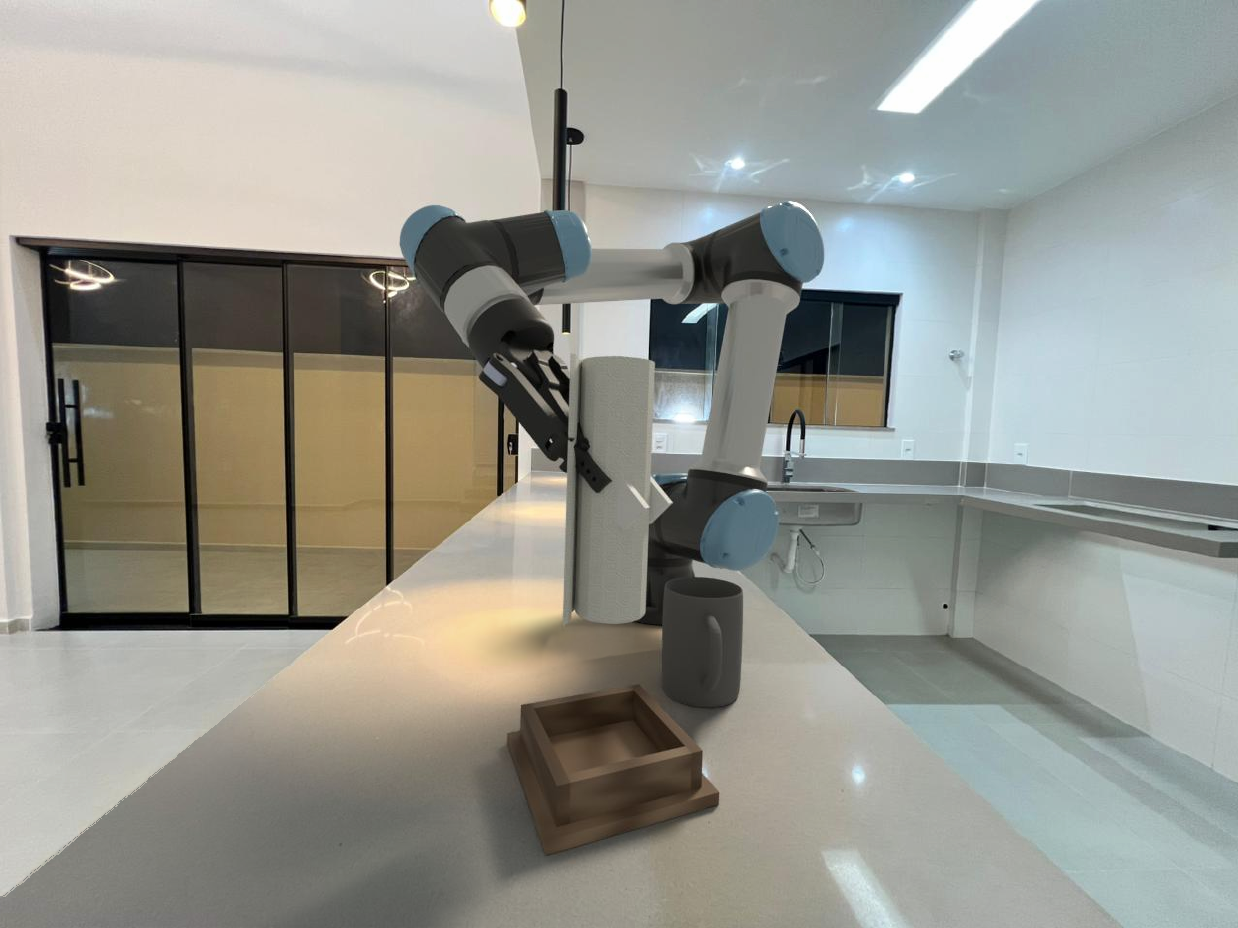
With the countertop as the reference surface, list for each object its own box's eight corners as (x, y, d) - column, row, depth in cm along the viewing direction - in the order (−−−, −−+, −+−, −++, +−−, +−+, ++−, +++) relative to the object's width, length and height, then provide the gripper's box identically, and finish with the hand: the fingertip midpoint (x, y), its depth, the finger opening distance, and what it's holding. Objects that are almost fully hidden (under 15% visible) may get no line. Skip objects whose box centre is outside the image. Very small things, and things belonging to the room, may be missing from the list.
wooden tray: (642, 715, 54) (643, 678, 54) (718, 804, 41) (720, 754, 41) (507, 743, 48) (507, 701, 48) (545, 855, 35) (546, 798, 35)
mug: (657, 670, 65) (660, 575, 64) (730, 672, 65) (734, 577, 64) (668, 731, 51) (671, 611, 50) (760, 734, 51) (765, 614, 50)
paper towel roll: (637, 601, 47) (646, 365, 46) (653, 625, 41) (663, 356, 40) (558, 602, 46) (565, 361, 45) (562, 628, 40) (570, 350, 39)
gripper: (536, 368, 58) (665, 531, 50) (409, 343, 44) (558, 563, 36) (575, 315, 55) (718, 479, 47) (451, 270, 41) (624, 493, 33)
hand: (648, 515), depth 42 cm, fingers closed on paper towel roll, 3 cm apart
